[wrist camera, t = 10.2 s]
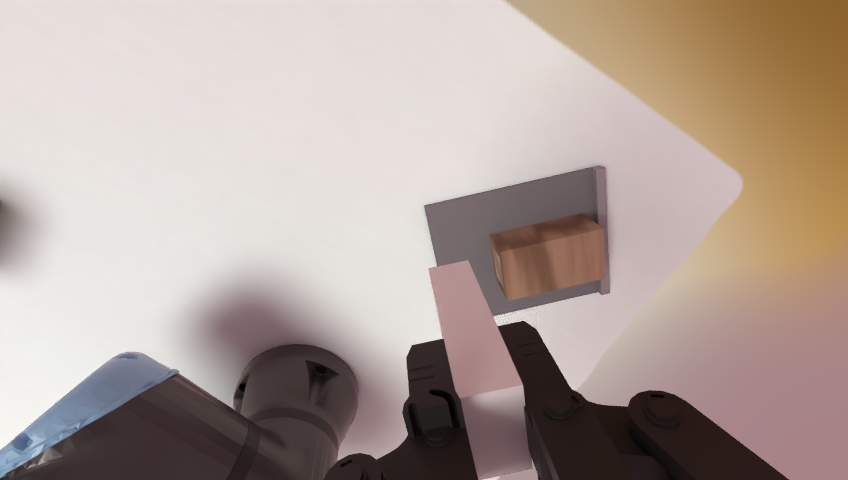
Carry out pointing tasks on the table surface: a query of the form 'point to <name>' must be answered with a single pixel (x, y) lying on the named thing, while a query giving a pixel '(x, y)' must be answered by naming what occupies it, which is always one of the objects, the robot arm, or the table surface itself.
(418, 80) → the table surface
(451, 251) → the mat
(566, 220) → the walnut block
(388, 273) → the table surface
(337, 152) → the table surface
